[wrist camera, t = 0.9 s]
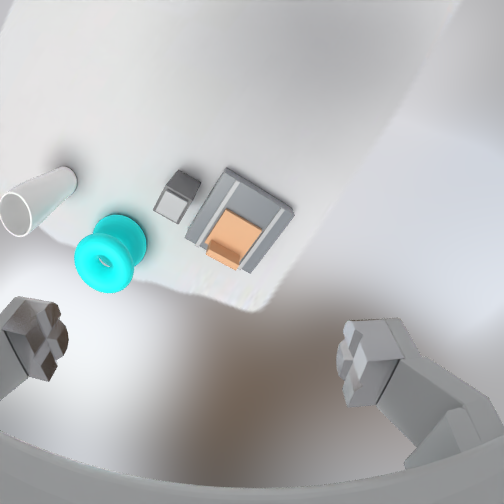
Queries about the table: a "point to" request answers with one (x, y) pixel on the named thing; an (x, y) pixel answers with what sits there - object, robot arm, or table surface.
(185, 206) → the plug
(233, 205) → the socket plate
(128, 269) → the donuts
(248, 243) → the block
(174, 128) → the table surface
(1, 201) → the drinking glass
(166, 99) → the table surface
